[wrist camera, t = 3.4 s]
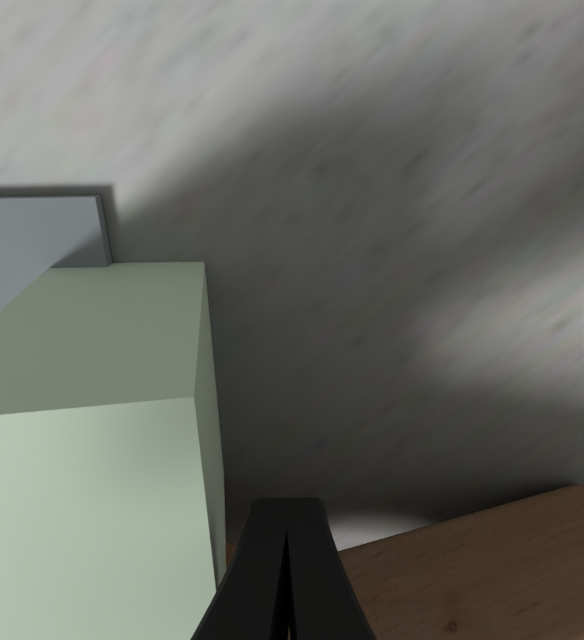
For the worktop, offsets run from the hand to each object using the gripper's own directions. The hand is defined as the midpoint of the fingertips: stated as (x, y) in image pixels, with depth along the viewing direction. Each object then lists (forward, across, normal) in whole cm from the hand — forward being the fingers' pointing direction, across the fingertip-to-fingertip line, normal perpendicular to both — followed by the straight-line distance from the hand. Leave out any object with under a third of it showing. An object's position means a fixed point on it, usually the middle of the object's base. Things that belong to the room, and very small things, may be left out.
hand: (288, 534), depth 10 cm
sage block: (+6, +5, 0) cm, 8 cm away
